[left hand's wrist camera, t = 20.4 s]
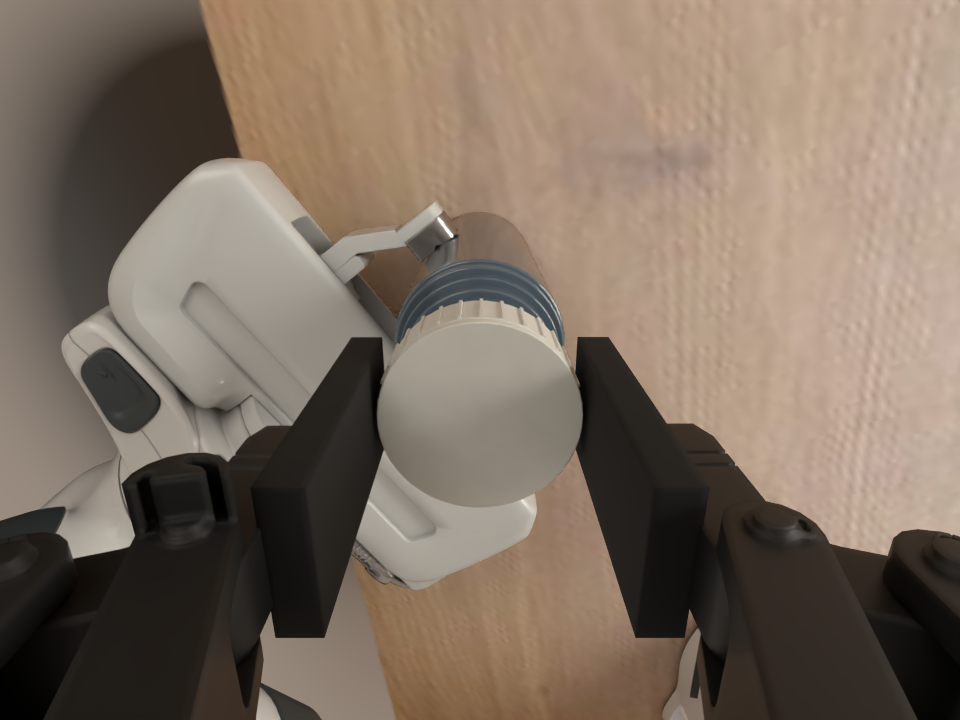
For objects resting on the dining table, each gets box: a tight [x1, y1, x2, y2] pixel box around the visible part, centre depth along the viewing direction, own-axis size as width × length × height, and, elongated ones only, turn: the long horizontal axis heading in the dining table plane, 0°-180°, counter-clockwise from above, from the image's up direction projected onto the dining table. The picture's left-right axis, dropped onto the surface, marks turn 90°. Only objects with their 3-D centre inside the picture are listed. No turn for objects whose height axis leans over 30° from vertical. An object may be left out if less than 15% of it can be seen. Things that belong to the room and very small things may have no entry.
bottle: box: [395, 212, 565, 347], centre depth 21 cm, size 5×5×17 cm
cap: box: [376, 298, 583, 507], centre depth 13 cm, size 5×5×2 cm
